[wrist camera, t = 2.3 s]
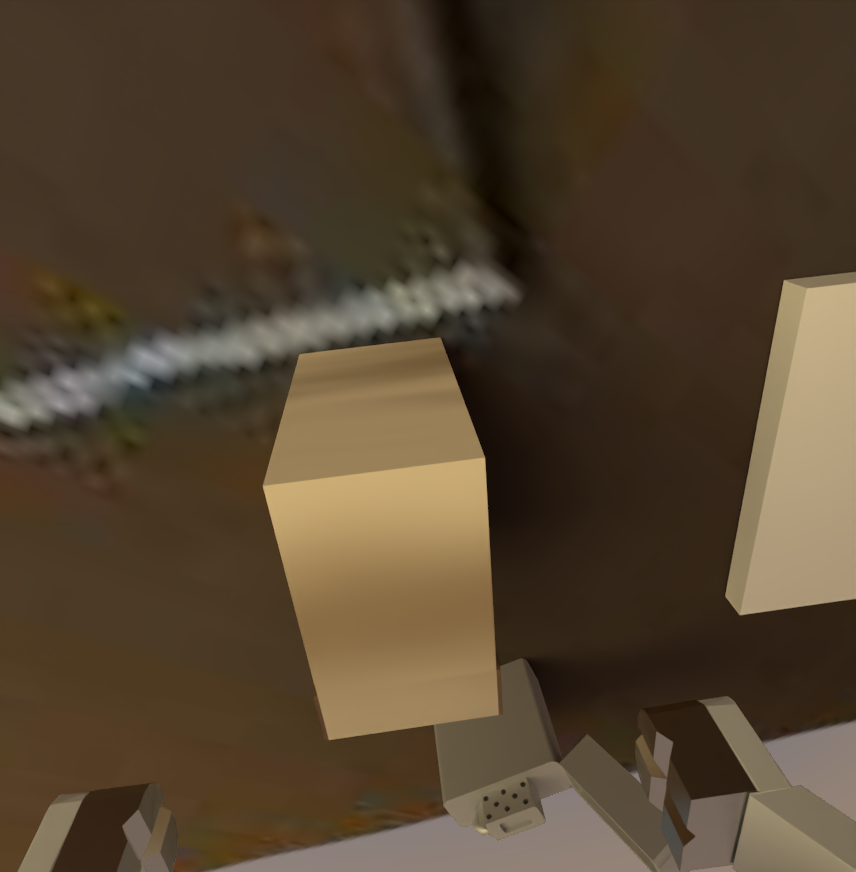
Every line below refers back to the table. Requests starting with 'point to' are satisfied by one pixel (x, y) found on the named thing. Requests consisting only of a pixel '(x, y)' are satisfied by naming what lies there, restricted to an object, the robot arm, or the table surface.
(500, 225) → the table surface
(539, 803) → the lighter
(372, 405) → the block
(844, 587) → the tile
